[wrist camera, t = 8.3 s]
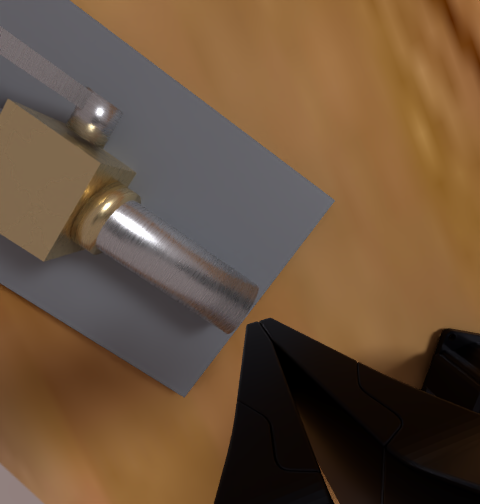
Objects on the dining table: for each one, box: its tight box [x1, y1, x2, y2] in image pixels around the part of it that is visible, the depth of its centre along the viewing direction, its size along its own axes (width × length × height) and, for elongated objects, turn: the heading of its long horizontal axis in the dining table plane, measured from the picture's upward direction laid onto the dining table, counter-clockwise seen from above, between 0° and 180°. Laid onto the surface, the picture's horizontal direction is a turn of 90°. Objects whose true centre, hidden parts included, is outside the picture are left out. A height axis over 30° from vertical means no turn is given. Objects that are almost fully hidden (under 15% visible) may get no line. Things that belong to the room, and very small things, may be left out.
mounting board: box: [0, 0, 335, 397], centre depth 18 cm, size 28×18×1 cm, turn 55°
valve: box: [0, 99, 259, 334], centre depth 15 cm, size 26×6×5 cm, turn 55°
